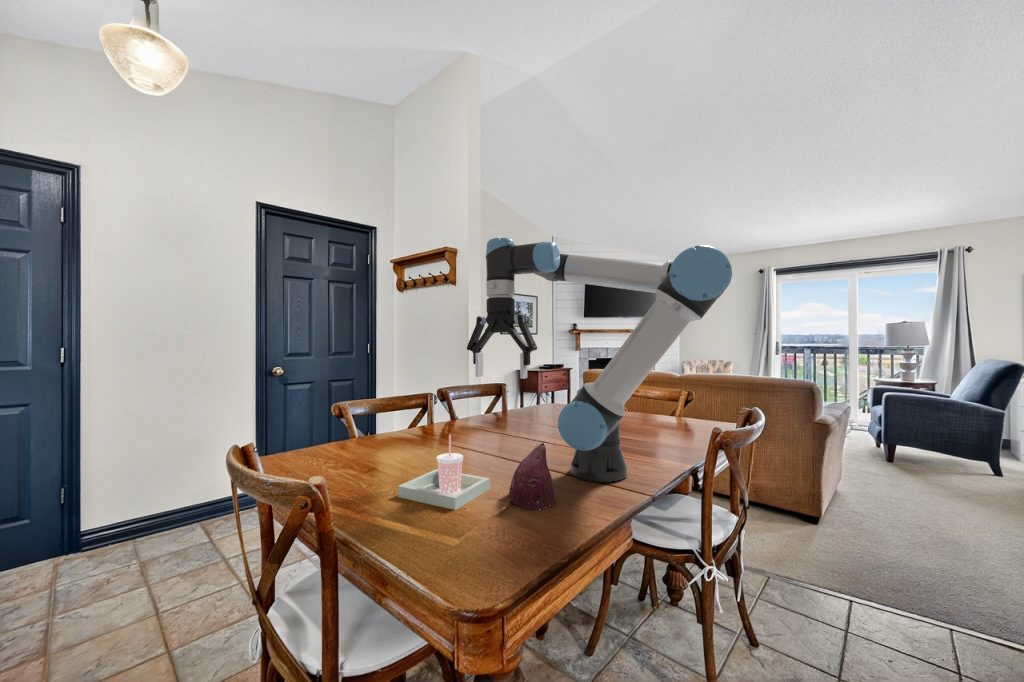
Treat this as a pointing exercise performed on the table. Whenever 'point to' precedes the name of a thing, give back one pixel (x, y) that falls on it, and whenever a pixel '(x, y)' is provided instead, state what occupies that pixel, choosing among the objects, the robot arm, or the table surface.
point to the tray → (430, 493)
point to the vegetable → (532, 482)
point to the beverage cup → (450, 471)
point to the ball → (436, 479)
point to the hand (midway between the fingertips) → (501, 377)
